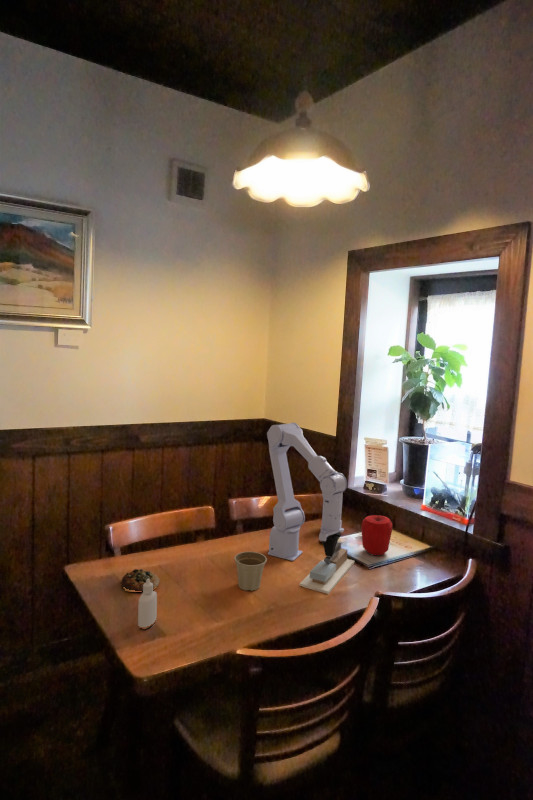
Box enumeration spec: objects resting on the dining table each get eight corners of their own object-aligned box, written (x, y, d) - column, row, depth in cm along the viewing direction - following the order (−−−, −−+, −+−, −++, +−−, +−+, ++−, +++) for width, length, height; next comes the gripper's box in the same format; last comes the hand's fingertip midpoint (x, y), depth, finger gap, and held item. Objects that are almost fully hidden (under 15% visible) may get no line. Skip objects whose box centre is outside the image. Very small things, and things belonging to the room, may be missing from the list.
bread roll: (112, 589, 149) (114, 571, 149) (134, 577, 160) (136, 561, 160) (145, 599, 146) (148, 581, 146) (166, 587, 156) (168, 570, 156)
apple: (376, 544, 189) (379, 508, 188) (396, 555, 181) (400, 517, 179) (353, 549, 184) (356, 512, 182) (373, 561, 175) (376, 522, 174)
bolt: (323, 562, 163) (324, 549, 162) (333, 551, 171) (334, 540, 170) (330, 563, 162) (331, 551, 161) (340, 553, 170) (341, 541, 169)
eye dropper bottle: (133, 624, 132) (133, 579, 131) (152, 617, 136) (153, 572, 135) (141, 632, 129) (142, 585, 128) (161, 624, 133) (162, 579, 131)
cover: (309, 577, 157) (309, 571, 157) (320, 566, 165) (321, 560, 165) (325, 582, 155) (325, 575, 155) (335, 570, 163) (336, 564, 163)
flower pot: (269, 582, 158) (271, 554, 156) (259, 597, 149) (260, 567, 148) (240, 576, 161) (241, 549, 160) (228, 590, 152) (229, 561, 151)
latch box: (299, 586, 156) (300, 572, 156) (328, 556, 177) (329, 544, 177) (328, 594, 152) (329, 580, 152) (354, 563, 173) (355, 550, 173)
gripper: (336, 523, 154) (333, 567, 155) (352, 509, 166) (349, 550, 168) (313, 518, 157) (311, 561, 159) (330, 504, 170) (328, 545, 171)
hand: (329, 555), depth 164 cm, fingers closed
